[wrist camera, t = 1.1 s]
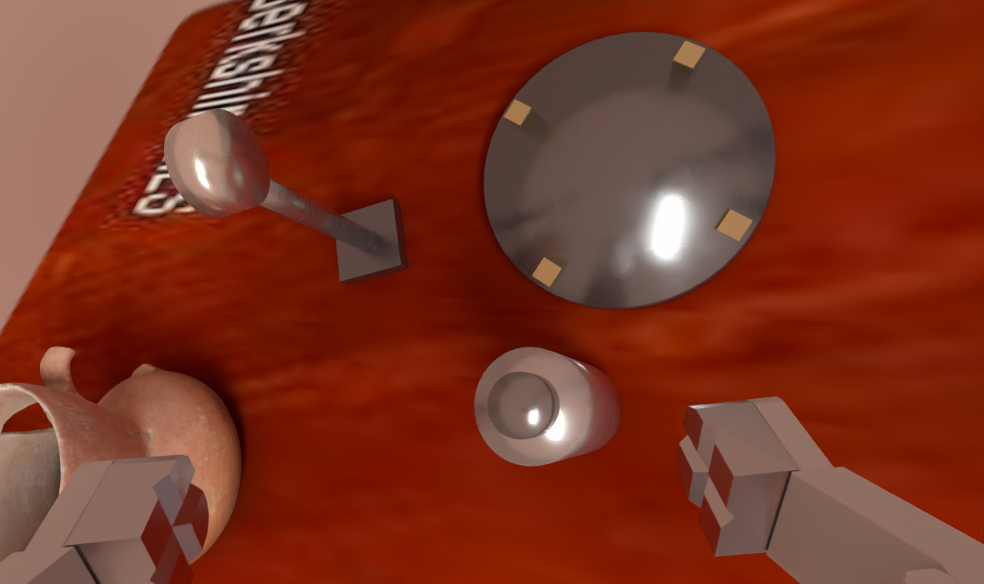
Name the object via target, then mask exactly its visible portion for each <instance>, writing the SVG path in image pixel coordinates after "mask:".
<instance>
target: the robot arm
mask: <svg viewBox="0 0 984 584" xmlns="http://www.w3.org/2000/svg"><path fill="white" fill-rule="evenodd" d="M683 425H684V427H685V429H686V431H687V433H688V435H687V436H686V437H685V438H684V439H683V440H682V441H681V442H680V443H679V451H678V467H679V475H680V479H681V482H682V486H683V488H684V490H685V493H686V495H687V497H688V499H689V500H690V501H692V502H693V503H694V504H696V505H697V506H699V507H700V508H701V511H700V517H699V523H700V526H701V528H702V530H703V532H704V534H705V536H706V538H707V541H708V543H709V545H710V547H711V549H712V551H713V553H714V555H715V556H723V555H735V554H747V553H759V552H767V554H766V555H768V556H769V557H770V558H771V559H772V560H773V561H775V562H776V563H777V564H778V565H779V566H781V567H782V568H783V569H784V570H785V571H786V572H788V573H789V574H790V575H791V576H792V577H793V578H795V579H796V580H797V581H798V582H799V583H800V584H984V544H982V543H980V542H978V541H976V540H975V539H973V538H971V537H969V536H967V535H966V534H964V533H962V532H960V531H958V530H957V529H955V528H953V527H951V526H949V525H947V524H946V523H944V522H942V521H940V520H938V519H937V518H935V517H933V516H931V515H929V514H927V513H926V512H924V511H922V510H920V509H918V508H917V507H915V506H913V505H911V504H909V503H907V502H906V501H904V500H902V499H900V498H898V497H897V496H895V495H893V494H891V493H889V492H888V491H886V490H884V489H882V488H880V487H878V486H877V485H875V484H873V483H871V482H869V481H868V480H866V479H864V478H862V477H860V476H858V475H857V474H855V473H853V472H851V471H849V470H848V469H846V468H844V467H836V468H834V467H833V466H832V464H831V463H830V462H829V460H828V459H827V458H826V457H825V455H824V454H823V453H822V451H821V450H820V449H819V447H818V446H817V445H816V443H815V442H814V441H813V439H812V438H811V437H810V435H809V434H808V433H807V432H806V430H805V429H804V428H803V426H802V425H801V424H800V422H799V421H798V420H797V418H796V417H795V416H794V414H793V413H792V412H791V410H790V409H789V408H788V407H787V405H786V404H785V403H784V401H783V400H781V399H780V398H778V397H768V398H759V399H750V400H746V401H733V402H723V403H714V404H704V405H695V406H688V408H687V410H686V411H685V414H684V420H683ZM194 473H195V469H194V467H193V465H192V463H191V460H190V458H189V456H185V455H168V456H154V457H140V458H126V459H118V460H108V461H93V462H85V463H83V464H82V465H80V466H79V467H77V468H76V469H75V471H74V472H73V474H72V476H71V477H70V479H69V480H68V482H67V484H66V485H65V487H64V488H63V490H62V492H61V493H60V495H59V496H58V498H57V500H56V501H55V503H54V504H53V506H52V508H51V509H50V511H49V512H48V514H47V516H46V517H45V519H44V520H43V522H42V524H41V525H40V527H39V528H38V530H37V532H36V533H35V535H34V536H33V538H32V540H31V541H30V543H29V544H28V546H27V548H26V549H25V551H23V552H15V553H12V554H11V555H9V556H8V557H7V558H5V559H4V560H3V561H1V562H0V584H191V582H192V579H193V573H192V571H191V569H190V566H189V564H188V563H189V562H190V561H191V560H193V559H194V558H195V557H196V556H197V555H198V554H199V553H200V552H201V551H202V550H203V546H204V543H205V540H206V537H207V534H208V523H209V510H208V503H207V500H206V497H205V494H204V492H203V490H201V489H200V488H198V487H197V486H195V485H194V484H192V483H191V481H192V478H193V476H194Z"/></svg>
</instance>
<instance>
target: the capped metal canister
mask: <svg viewBox="0 0 984 584" xmlns="http://www.w3.org/2000/svg"><path fill="white" fill-rule="evenodd" d="M474 408H475V417H476V422H477V425H478V428H479V431H480V433H481V435H482V437H483V439H484V440H485V442H486V443H487V444H488V446H489V447H490V448H491V449H492V450H493V451H494V452H495V453H496V454H498V455H499V456H500V457H502V458H503V459H505V460H507V461H509V462H512V463H515V464H518V465H523V466H539V465H544V464H548V463H552V462H555V461H559V460H563V459H567V458H570V457H574V456H578V455H582V454H585V453H589V452H592V451H595V450H597V449H599V448H601V447H603V446H604V445H605V444H607V443H608V442H609V441H610V440H611V439H612V437H613V436H614V435H615V433H616V431H617V429H618V427H619V425H620V421H621V416H622V402H621V397H620V394H619V391H618V389H617V387H616V385H615V384H614V382H613V381H612V380H611V378H610V377H609V376H608V375H607V374H606V373H604V372H603V371H602V370H600V369H598V368H597V367H594V366H592V365H589V364H586V363H584V362H581V361H578V360H575V359H572V358H569V357H566V356H564V355H561V354H558V353H555V352H552V351H549V350H546V349H542V348H537V347H524V348H518V349H514V350H511V351H509V352H507V353H505V354H503V355H501V356H500V357H498V358H497V359H496V360H495V361H494V362H493V363H492V364H491V365H490V366H489V367H488V368H487V369H486V371H485V372H484V374H483V376H482V377H481V379H480V382H479V384H478V387H477V390H476V395H475V406H474Z"/></svg>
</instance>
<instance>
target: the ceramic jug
mask: <svg viewBox="0 0 984 584" xmlns="http://www.w3.org/2000/svg"><path fill="white" fill-rule="evenodd" d="M75 354H76V351H74V350H73V349H71V348H65V347H58V346H57V347H51V348H50V349H48V351H47V352H46V353H45V355H44V357H43V359H42V361H41V363H40V373H41V378H42V381H43V383H44V386H39V385H33V384H25V383H6V384H0V562H1V561H3V560H4V559H5V558H7V557H8V556H9V555H11V554H12V553H15V552H23V551H25V549H26V548H27V546H28V544H29V543H30V541H31V540H32V538H33V536H34V535H35V533H36V532H37V530H38V528H39V527H40V525H41V524H42V522H43V520H44V519H45V517H46V516H47V514H48V512H49V511H50V509H51V508H52V506H53V504H54V503H55V501H56V500H57V498H58V496H59V495H60V493H61V492H62V490H63V488H64V487H65V485H66V484H67V482H68V480H69V479H70V477H71V476H72V474H73V472H74V471H75V469H76V468H77V467H79V466H80V465H82V464H83V463H85V462H93V461H108V460H118V459H126V458H140V457H154V456H168V455H185V456H189V458H190V460H191V463H192V465H193V467H194V469H195V473H194V476H193V478H192V481H191V483H192V484H194V485H195V486H197V487H198V488H200V489H201V490H203V492H204V494H205V497H206V500H207V503H208V510H209V523H208V534H207V537H206V540H205V543H204V546H203V550H202V551H201V552H200V553H199V554H198V555H197V556H196V557H195V558H194V559H193V560H191V561H190V562H189V563H188V564H189V565H190V564H192V563H193V562H194V561H196V560H197V559H199V558H200V557H201V556H202V555H203V554H204V553H205V552H206V551H207V550H208V549H209V548H210V547H211V546H212V545H213V544H214V543H215V541H216V540H217V539H218V537H219V536H220V534H221V533H222V531H223V530H224V528H225V526H226V525H227V523H228V521H229V519H230V516H231V514H232V512H233V509H234V506H235V503H236V500H237V496H238V491H239V487H240V480H241V471H242V458H241V446H240V441H239V437H238V433H237V430H236V427H235V424H234V422H233V420H232V417H231V415H230V413H229V411H228V409H227V407H226V405H225V404H224V402H223V401H222V399H221V398H220V397H219V396H218V395H217V394H216V393H215V392H214V391H213V390H212V389H211V388H210V387H208V386H207V385H206V384H204V383H203V382H201V381H199V380H197V379H195V378H193V377H190V376H188V375H185V374H182V373H177V372H171V371H165V370H162V369H160V368H158V367H155V366H153V365H151V364H142V365H141V366H140V367H138V368H137V369H136V370H135V371H134V372H133V374H132V376H131V377H130V378H128V379H126V380H124V381H122V382H121V383H119V384H118V385H116V386H115V387H114V388H112V389H111V390H110V391H109V392H108V393H107V394H106V395H105V396H104V397H103V398H102V399H101V400H100V401H99V402H98V403H97V404H95V403H93V402H90V401H88V400H86V399H85V398H83V397H82V396H81V395H80V394H79V393H78V392H77V390H76V388H75V386H74V384H73V381H72V377H71V372H70V363H71V360H72V358H73V357H74V355H75ZM34 403H39V404H40V405H41V406H42V408H43V411H44V412H46V415H47V417H48V419H49V421H50V423H51V424H52V425H53V428H48V429H40V430H34V431H26V432H25V431H21V432H19V431H17V432H1V431H2V429H3V425H4V423H5V422H6V421H7V420H8V419H9V418H10V417H11V416H12V415H13V414H15V413H16V412H18V411H20V410H21V409H24V408H25V407H27V406H29V405H31V404H34Z"/></svg>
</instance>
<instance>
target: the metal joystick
mask: <svg viewBox="0 0 984 584" xmlns="http://www.w3.org/2000/svg"><path fill="white" fill-rule="evenodd" d="M164 157H165V162H166V166H167V170H168V173H169V175H170V178H171V180H172V182H173V184H174V185H175V187H176V189H177V190H178V192H179V193H180V194H181V196H182V197H183V198H184V199H185V200H186V201H187V202H188V203H189V204H190V205H191V206H192V207H193V208H194V209H196V210H197V211H199V212H200V213H202V214H204V215H207V216H210V217H214V218H222V217H226V216H229V215H232V214H235V213H238V212H241V211H244V210H247V209H250V208H253V207H256V206H258V205H260V206H262V207H265V208H267V209H269V210H271V211H274V212H276V213H278V214H280V215H283V216H285V217H287V218H289V219H292V220H294V221H296V222H298V223H301V224H303V225H305V226H307V227H310V228H312V229H314V230H316V231H319V232H321V233H323V234H325V235H328V236H330V237H332V238H335V239H336V247H337V257H338V267H339V277H340V282H343V283H346V284H350V283H354V282H358V281H361V280H365V279H369V278H373V277H376V276H380V275H384V274H387V273H391V272H395V271H398V270H402V269H406V268H408V267H407V259H406V251H405V243H404V235H403V227H402V219H401V212H400V204H399V203H398V202H397V201H395V200H394V199H390V200H387V201H384V202H381V203H378V204H374V205H371V206H368V207H365V208H362V209H358V210H355V211H352V212H349V213H346V214H342V215H340V214H338V213H336V212H334V211H332V210H330V209H328V208H326V207H324V206H322V205H320V204H318V203H316V202H315V201H313V200H311V199H309V198H307V197H305V196H303V195H301V194H299V193H297V192H295V191H293V190H291V189H289V188H287V187H285V186H283V185H281V184H279V183H277V182H275V181H273V180H271V179H270V170H269V165H268V162H267V158H266V156H265V153H264V151H263V148H262V146H261V144H260V143H259V141H258V139H257V138H256V136H255V134H254V133H253V132H252V130H251V129H250V128H249V127H248V126H247V125H246V124H245V123H244V122H243V121H242V120H241V119H240V118H239V117H237V116H236V115H234V114H233V113H231V112H229V111H226V110H222V109H213V110H209V111H207V112H204V113H202V114H200V115H197V116H195V117H192V118H190V119H187V120H185V121H182V122H180V123H177V124H175V125H174V126H173V127H172V128H171V129H170V130H169V132H168V133H167V136H166V139H165V144H164Z"/></svg>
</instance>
